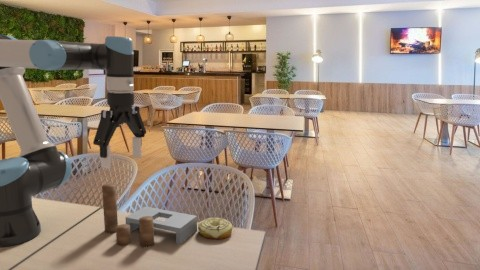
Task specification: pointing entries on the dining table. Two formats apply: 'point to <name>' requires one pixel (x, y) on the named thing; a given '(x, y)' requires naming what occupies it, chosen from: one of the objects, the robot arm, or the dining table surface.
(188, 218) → the bridge
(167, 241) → the dining table surface
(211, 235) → the decorated donut
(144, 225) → the medium dowel
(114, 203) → the long dowel
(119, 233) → the short dowel
